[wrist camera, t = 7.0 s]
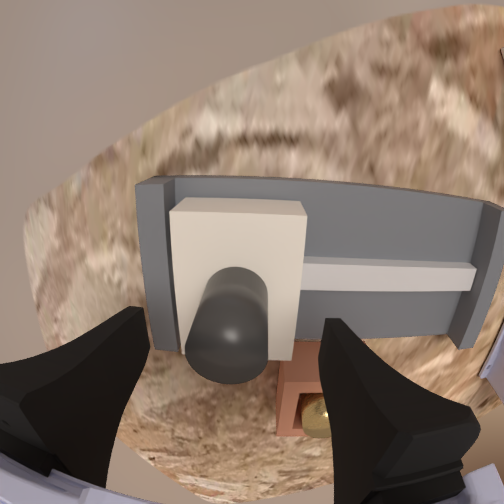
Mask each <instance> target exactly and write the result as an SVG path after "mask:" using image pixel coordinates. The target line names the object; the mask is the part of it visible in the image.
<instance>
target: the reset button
mask: <svg viewBox="0 0 504 504" xmlns="http://www.w3.org/2000/svg"><path fill="white" fill-rule="evenodd" d="M300 405H301V416H302V427H303V431H304V433H305V434H306V435H308V436H310V437H313V438H329V437H331V429H330V423H329V419H328V414H327V410H326V405H325V401H324V396H323V393H300Z"/></svg>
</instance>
